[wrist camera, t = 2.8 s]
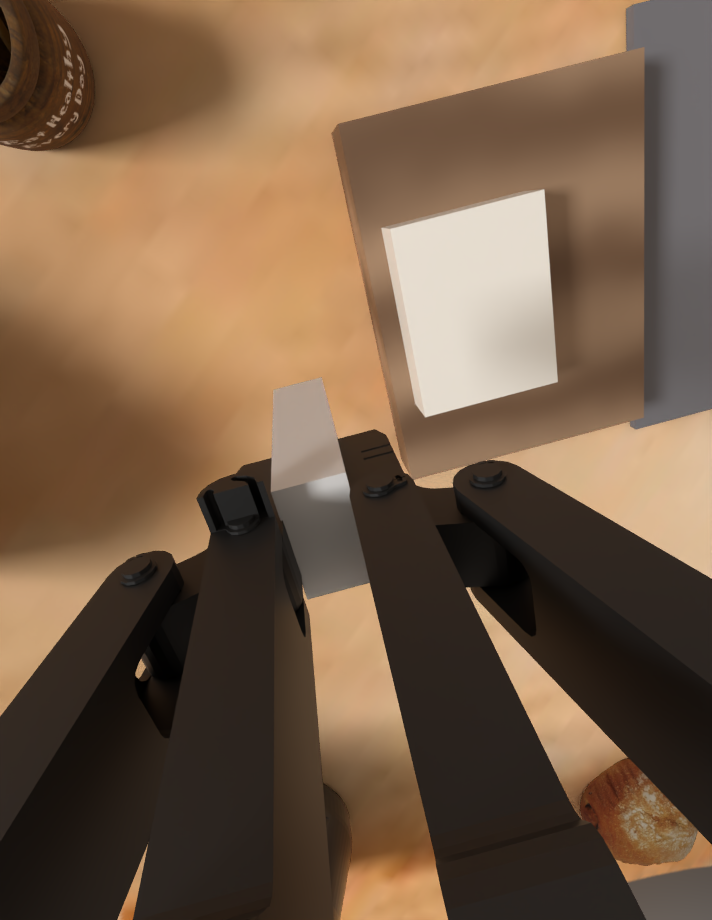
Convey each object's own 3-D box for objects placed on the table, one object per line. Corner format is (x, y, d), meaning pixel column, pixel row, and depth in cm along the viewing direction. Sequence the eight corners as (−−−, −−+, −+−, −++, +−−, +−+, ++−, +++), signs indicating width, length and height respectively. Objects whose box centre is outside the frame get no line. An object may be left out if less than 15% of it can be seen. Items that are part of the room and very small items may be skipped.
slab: (539, 370, 30) (558, 382, 28) (415, 403, 30) (425, 417, 28) (523, 191, 26) (544, 189, 24) (381, 227, 26) (390, 228, 24)
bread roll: (649, 766, 57) (732, 821, 50) (592, 851, 54) (671, 922, 47) (618, 714, 53) (704, 766, 46) (554, 802, 50) (635, 872, 43)
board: (615, 401, 35) (643, 417, 32) (401, 458, 34) (412, 480, 31) (607, 63, 27) (644, 47, 24) (331, 133, 26) (338, 124, 24)
